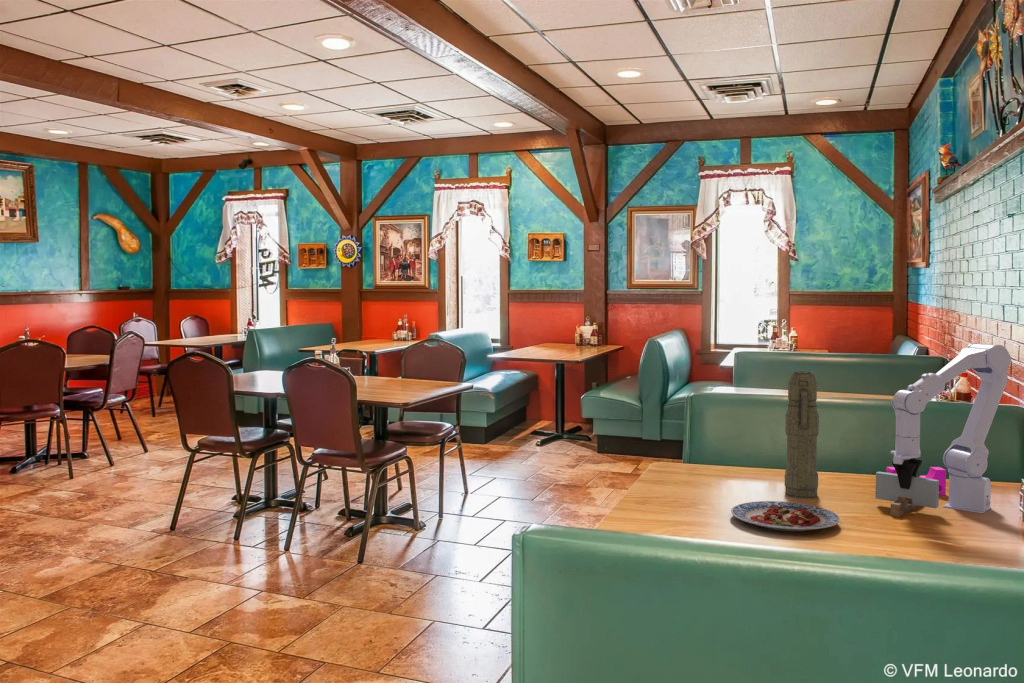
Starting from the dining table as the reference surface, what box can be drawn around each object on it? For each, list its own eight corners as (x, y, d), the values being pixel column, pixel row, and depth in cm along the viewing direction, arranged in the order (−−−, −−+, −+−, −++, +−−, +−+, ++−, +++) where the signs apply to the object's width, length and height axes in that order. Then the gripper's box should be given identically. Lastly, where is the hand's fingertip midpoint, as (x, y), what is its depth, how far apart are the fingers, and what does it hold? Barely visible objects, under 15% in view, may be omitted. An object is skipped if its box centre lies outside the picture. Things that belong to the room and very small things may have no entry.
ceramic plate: (755, 504, 218) (755, 493, 218) (853, 520, 202) (854, 508, 202) (713, 524, 198) (713, 512, 198) (819, 544, 182) (819, 531, 182)
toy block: (934, 491, 233) (935, 465, 232) (945, 496, 226) (946, 469, 226) (882, 490, 233) (882, 465, 233) (891, 495, 227) (891, 469, 227)
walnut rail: (913, 503, 217) (913, 492, 217) (921, 504, 216) (921, 493, 216) (890, 515, 205) (890, 503, 205) (898, 516, 204) (898, 505, 204)
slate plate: (938, 507, 206) (939, 480, 206) (935, 508, 205) (936, 481, 204) (878, 497, 217) (878, 471, 216) (875, 498, 215) (875, 472, 215)
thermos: (789, 500, 222) (791, 374, 220) (780, 490, 233) (781, 370, 232) (823, 500, 221) (824, 374, 219) (812, 490, 232) (813, 370, 231)
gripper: (901, 431, 218) (900, 480, 218) (881, 437, 207) (880, 489, 208) (929, 434, 213) (928, 484, 213) (910, 440, 202) (909, 494, 203)
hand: (906, 487), depth 210 cm, fingers closed on slate plate, 2 cm apart
